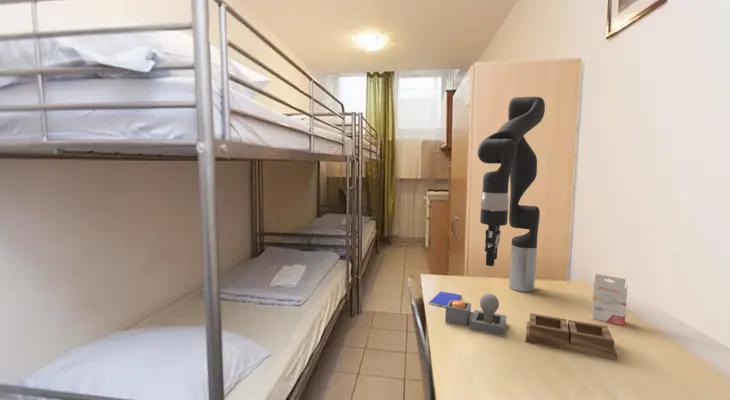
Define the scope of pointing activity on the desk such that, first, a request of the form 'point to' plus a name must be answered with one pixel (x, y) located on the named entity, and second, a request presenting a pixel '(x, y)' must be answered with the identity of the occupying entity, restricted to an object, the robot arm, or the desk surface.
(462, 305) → the orange ball
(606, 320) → the ink cartridge box
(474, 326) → the bulb socket block
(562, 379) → the desk surface
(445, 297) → the blue book
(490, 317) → the light bulb
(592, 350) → the bulb rack
